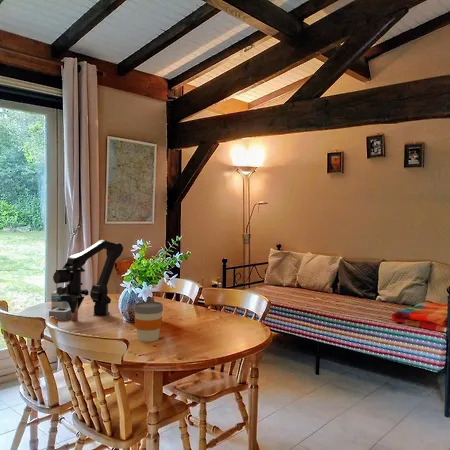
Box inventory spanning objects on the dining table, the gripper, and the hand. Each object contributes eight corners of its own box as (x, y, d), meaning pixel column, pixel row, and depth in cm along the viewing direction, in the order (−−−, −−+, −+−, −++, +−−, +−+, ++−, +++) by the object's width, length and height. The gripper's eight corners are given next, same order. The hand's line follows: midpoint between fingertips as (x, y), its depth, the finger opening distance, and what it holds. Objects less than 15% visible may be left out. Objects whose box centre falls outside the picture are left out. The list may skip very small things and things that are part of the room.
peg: (78, 319, 219) (79, 299, 219) (76, 321, 216) (76, 301, 216) (73, 319, 220) (73, 299, 219) (70, 320, 217) (70, 300, 216)
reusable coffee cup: (128, 337, 191) (129, 303, 191) (154, 332, 199) (154, 300, 198) (141, 344, 181) (142, 308, 181) (167, 339, 189) (168, 305, 188)
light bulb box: (63, 312, 233) (63, 292, 232) (50, 312, 233) (50, 292, 232) (70, 308, 243) (70, 289, 243) (58, 308, 243) (58, 288, 243)
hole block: (74, 315, 227) (74, 308, 227) (65, 320, 218) (65, 312, 218) (58, 314, 228) (58, 307, 228) (48, 319, 219) (48, 311, 219)
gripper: (68, 277, 227) (68, 307, 228) (49, 283, 209) (49, 315, 210) (89, 278, 226) (88, 308, 227) (71, 284, 208) (71, 317, 208)
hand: (74, 312), depth 218 cm, fingers closed on peg, 3 cm apart
